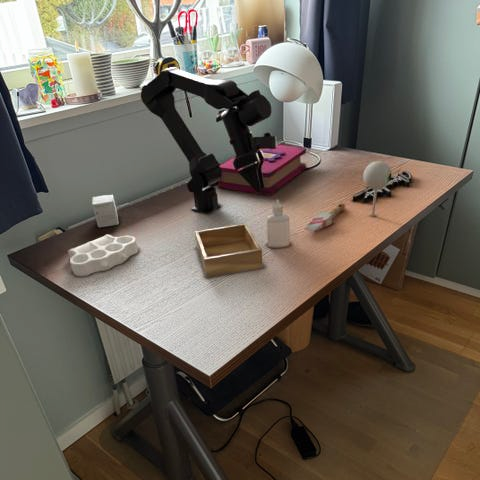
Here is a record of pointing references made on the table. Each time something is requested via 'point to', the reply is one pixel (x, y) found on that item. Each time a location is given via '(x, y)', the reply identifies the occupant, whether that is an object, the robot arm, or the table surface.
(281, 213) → the eye dropper bottle
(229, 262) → the crate
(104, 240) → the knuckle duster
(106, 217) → the product box
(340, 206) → the cricket bat
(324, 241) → the table surface
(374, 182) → the lollipop
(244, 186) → the book
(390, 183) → the nameplate
